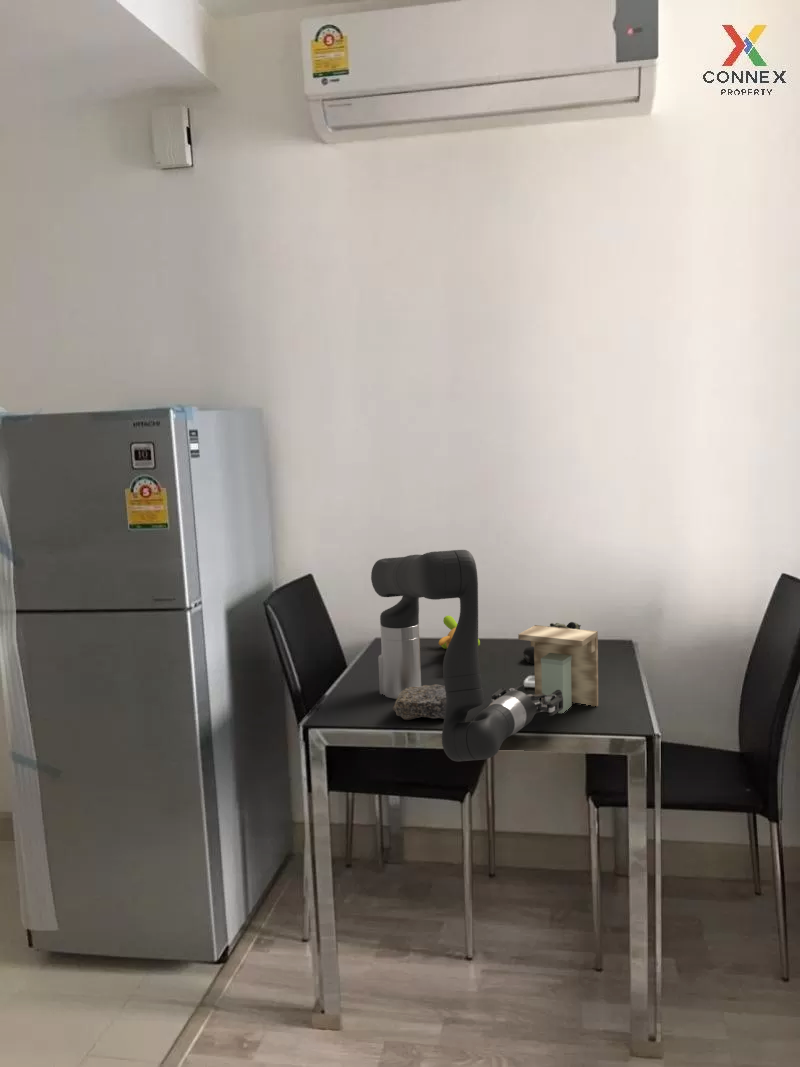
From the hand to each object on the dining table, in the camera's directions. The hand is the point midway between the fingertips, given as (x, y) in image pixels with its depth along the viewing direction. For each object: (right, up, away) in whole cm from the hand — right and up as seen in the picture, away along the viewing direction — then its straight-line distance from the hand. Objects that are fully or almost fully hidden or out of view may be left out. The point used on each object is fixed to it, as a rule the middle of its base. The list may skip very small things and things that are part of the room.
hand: (540, 691), depth 195 cm
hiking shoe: (+11, 0, +51) cm, 52 cm away
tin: (+5, -5, +8) cm, 11 cm away
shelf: (+6, -5, +9) cm, 12 cm away
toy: (-15, -1, +52) cm, 54 cm away
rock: (-24, -7, +8) cm, 26 cm away
